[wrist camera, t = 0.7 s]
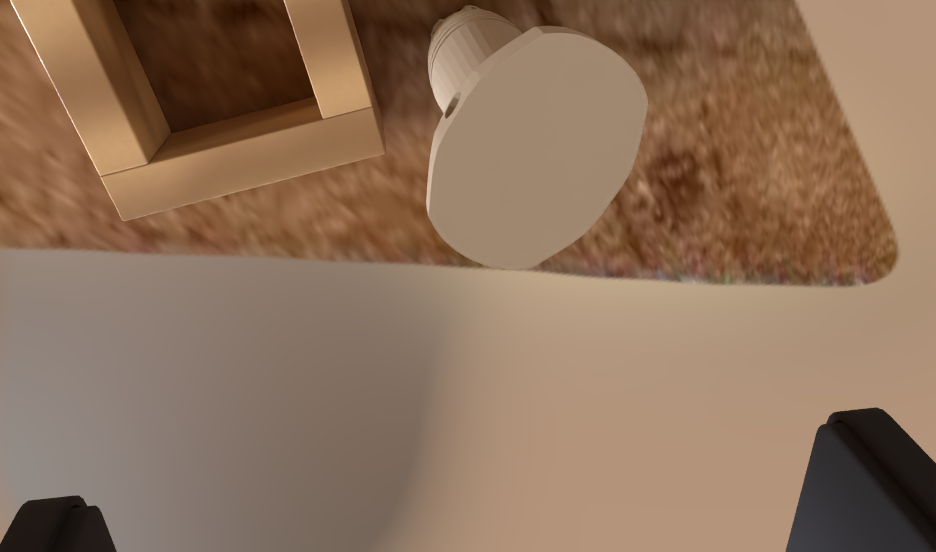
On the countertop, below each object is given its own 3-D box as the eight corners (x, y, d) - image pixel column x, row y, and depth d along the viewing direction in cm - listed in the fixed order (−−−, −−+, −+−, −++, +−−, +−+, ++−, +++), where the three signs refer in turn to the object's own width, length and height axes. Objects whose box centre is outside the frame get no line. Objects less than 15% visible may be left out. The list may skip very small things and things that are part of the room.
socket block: (21, -79, 28) (-28, -72, 24) (304, -151, 28) (295, -155, 24) (147, 185, 33) (122, 222, 30) (383, 124, 33) (386, 153, 30)
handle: (551, 6, 31) (685, 99, 18) (472, 132, 34) (542, 295, 21) (456, -58, 30) (529, -6, 17) (380, 79, 32) (391, 219, 19)
